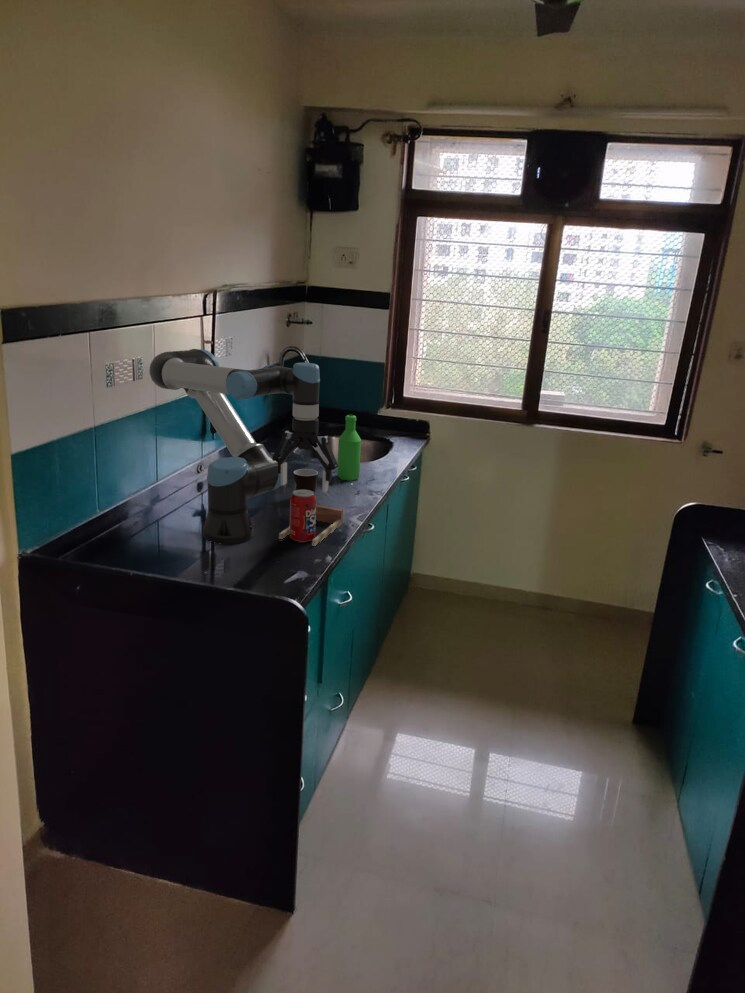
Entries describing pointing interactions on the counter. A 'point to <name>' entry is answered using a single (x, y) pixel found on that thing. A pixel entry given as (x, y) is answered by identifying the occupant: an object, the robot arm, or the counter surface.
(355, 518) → the counter surface
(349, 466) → the bottle
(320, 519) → the guide track
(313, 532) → the soda can
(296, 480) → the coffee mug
